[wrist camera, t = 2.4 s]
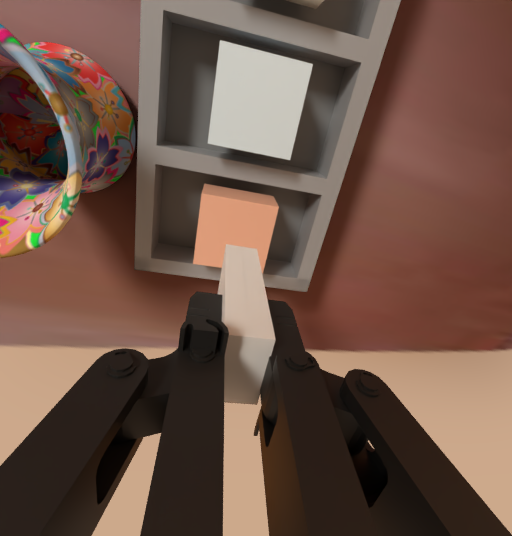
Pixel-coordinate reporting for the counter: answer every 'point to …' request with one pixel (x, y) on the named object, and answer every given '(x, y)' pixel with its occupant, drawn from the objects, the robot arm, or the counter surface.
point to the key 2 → (308, 3)
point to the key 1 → (233, 223)
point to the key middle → (257, 100)
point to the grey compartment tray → (237, 161)
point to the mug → (55, 138)
